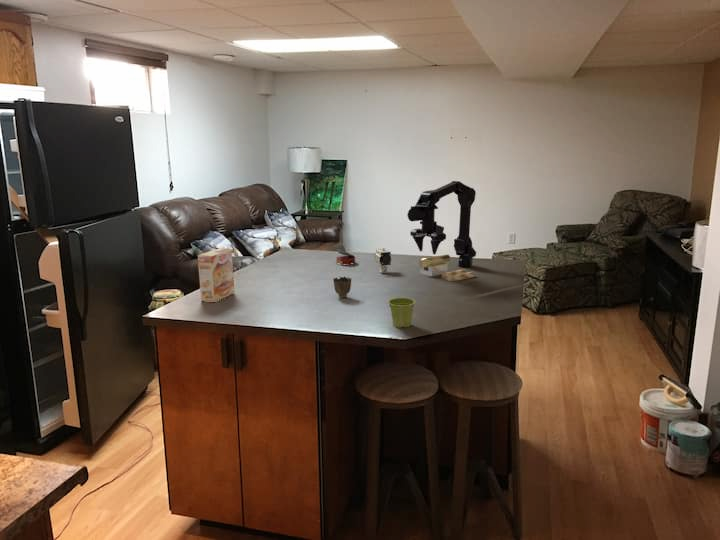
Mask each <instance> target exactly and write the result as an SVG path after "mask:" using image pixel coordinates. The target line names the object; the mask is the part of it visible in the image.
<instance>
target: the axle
mask: <svg viewBox="0 0 720 540" xmlns="http://www.w3.org/2000/svg"><path fill="white" fill-rule="evenodd" d="M450 262H451V257H450V254H442V255H436V256H431V257H424V258H421V259H419V262H418V263H419V264H418V265H419V266H421V267H422V268H423V267H428V266H430V265H436V264H441V263H447V264H448V263H450Z"/></svg>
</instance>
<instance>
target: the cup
mask: <svg viewBox="0 0 720 540" xmlns="http://www.w3.org/2000/svg"><path fill="white" fill-rule="evenodd" d="M333 287H334V291H335V292H336V294H338V295H337V296H338V298H339V299H346V298H347V297H348V294H349V293H350V292H351V287H352V278H351V277H346V276H340V277H339V278H338V277H335V278H333Z"/></svg>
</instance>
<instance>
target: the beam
mask: <svg viewBox="0 0 720 540" xmlns="http://www.w3.org/2000/svg"><path fill="white" fill-rule="evenodd" d="M475 274H476V271H468V272H467V271H466V268H463V269H462V268H461V269H458V270H457V269H456V270H452V271H448V272H447V273H442V274H441V280H442V279H443V280H447V281H449V282H456V281H457V282H458V281H461V280H465V279H470V278H474V277H476V276H475Z"/></svg>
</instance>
